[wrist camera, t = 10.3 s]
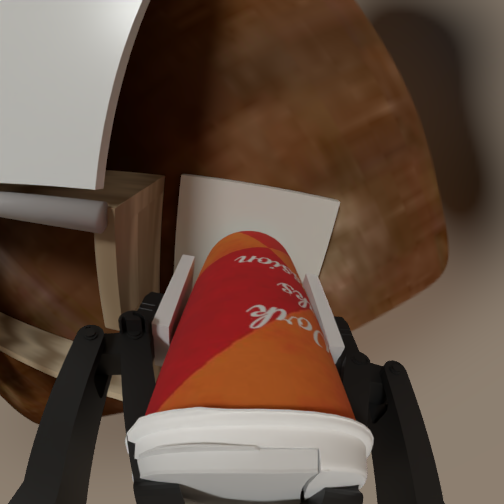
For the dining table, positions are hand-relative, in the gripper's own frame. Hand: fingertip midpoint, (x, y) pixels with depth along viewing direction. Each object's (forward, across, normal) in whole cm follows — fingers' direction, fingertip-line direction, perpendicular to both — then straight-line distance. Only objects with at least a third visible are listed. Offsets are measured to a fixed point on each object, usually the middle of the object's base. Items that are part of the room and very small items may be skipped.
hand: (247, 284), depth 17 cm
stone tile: (+4, 0, 0) cm, 4 cm away
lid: (0, -20, +15) cm, 25 cm away
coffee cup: (+2, 0, 0) cm, 2 cm away
